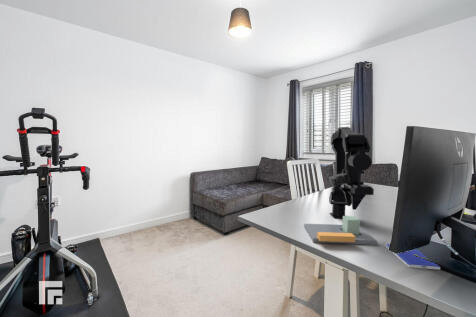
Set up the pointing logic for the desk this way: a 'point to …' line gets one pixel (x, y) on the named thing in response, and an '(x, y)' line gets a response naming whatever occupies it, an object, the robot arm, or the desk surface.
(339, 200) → the robot arm
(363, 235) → the socket plate
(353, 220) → the pale green block
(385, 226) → the desk surface
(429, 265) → the hard drive
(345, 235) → the bar
